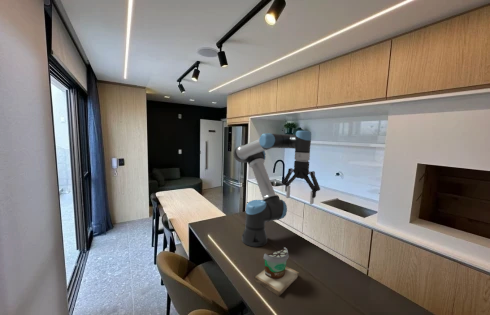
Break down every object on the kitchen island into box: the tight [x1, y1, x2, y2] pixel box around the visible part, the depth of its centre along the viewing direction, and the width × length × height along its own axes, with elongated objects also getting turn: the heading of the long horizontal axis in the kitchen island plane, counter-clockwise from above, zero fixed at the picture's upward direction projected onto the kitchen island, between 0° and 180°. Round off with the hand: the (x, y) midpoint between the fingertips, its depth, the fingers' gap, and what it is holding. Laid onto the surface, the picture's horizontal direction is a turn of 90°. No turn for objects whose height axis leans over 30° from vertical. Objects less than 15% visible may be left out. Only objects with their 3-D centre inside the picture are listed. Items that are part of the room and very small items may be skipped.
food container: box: [263, 246, 290, 279], centre depth 86 cm, size 12×6×10 cm, turn 122°
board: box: [254, 265, 300, 297], centre depth 87 cm, size 12×16×2 cm
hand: (299, 200), depth 106 cm, fingers open, 13 cm apart
